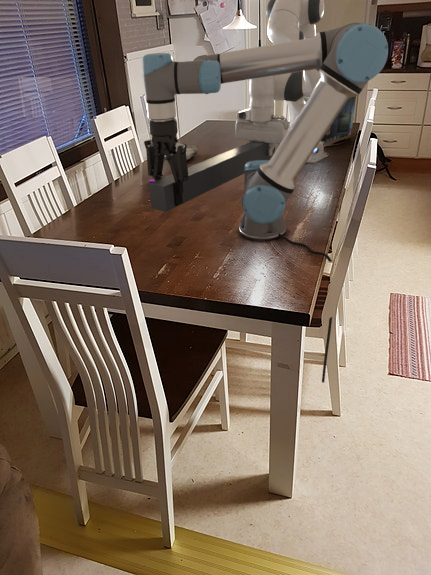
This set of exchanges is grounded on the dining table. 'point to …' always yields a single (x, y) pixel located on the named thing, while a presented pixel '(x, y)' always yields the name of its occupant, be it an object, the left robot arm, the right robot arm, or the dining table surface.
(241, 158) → the bar
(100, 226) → the dining table surface
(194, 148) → the fossil
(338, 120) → the router box
